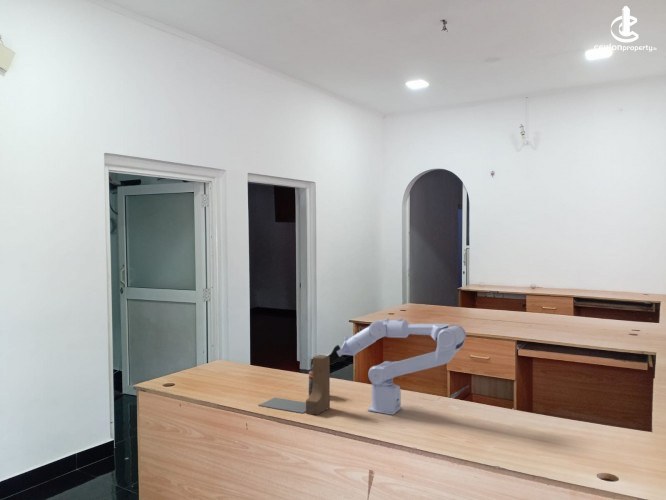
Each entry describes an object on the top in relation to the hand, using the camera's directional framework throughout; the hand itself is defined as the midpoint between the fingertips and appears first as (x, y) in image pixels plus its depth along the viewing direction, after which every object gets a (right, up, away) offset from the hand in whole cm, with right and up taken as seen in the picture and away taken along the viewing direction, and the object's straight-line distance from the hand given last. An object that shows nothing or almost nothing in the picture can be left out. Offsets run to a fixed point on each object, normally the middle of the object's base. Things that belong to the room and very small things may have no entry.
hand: (333, 358), depth 187 cm
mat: (-16, -15, -6) cm, 23 cm away
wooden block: (-5, -16, -11) cm, 20 cm away
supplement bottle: (-6, -15, +6) cm, 18 cm away
